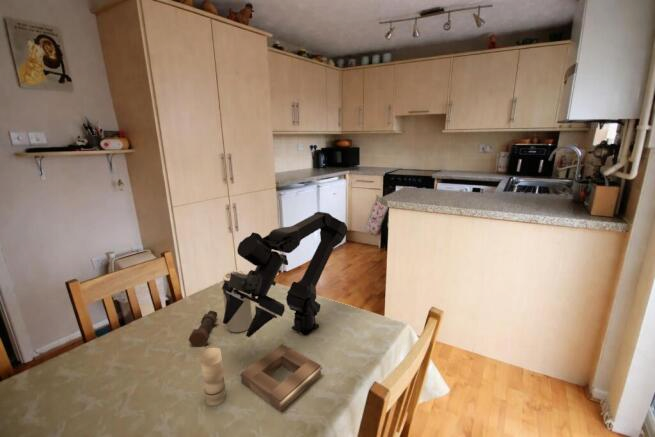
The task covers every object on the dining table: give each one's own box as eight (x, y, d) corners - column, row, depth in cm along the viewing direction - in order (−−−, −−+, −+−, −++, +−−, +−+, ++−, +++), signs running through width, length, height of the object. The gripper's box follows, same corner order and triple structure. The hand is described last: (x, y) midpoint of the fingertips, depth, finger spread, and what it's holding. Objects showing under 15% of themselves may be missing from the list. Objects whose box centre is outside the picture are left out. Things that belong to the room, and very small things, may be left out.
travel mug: (229, 336, 96) (223, 282, 92) (225, 323, 103) (219, 273, 98) (255, 328, 99) (250, 277, 95) (249, 316, 106) (244, 268, 102)
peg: (219, 387, 76) (213, 344, 73) (230, 396, 73) (225, 352, 70) (202, 399, 72) (195, 355, 69) (212, 409, 70) (207, 363, 67)
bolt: (216, 323, 106) (202, 351, 92) (202, 317, 105) (185, 344, 91) (223, 309, 105) (210, 335, 91) (209, 303, 105) (194, 328, 90)
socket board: (281, 352, 88) (281, 342, 87) (322, 375, 79) (322, 365, 78) (239, 382, 77) (238, 372, 76) (281, 413, 68) (281, 402, 67)
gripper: (223, 252, 82) (190, 308, 76) (272, 268, 71) (237, 335, 65) (250, 269, 90) (221, 321, 84) (297, 286, 79) (268, 347, 73)
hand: (235, 330), depth 76 cm, fingers open, 9 cm apart
